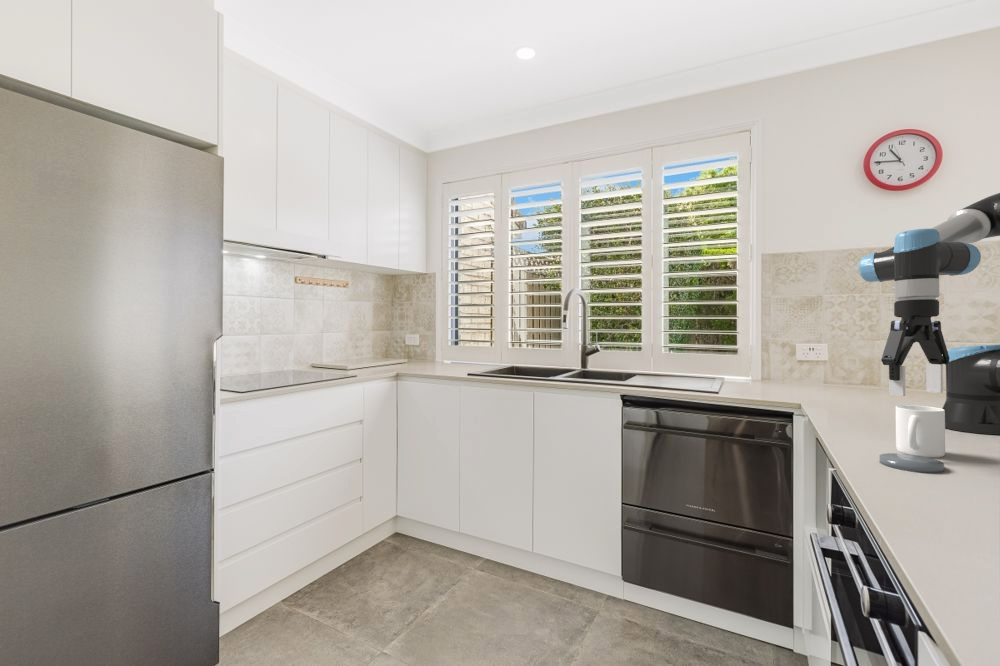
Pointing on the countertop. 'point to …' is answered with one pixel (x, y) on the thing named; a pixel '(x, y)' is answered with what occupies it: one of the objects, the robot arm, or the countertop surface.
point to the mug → (920, 430)
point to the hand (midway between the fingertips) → (916, 394)
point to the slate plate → (911, 462)
